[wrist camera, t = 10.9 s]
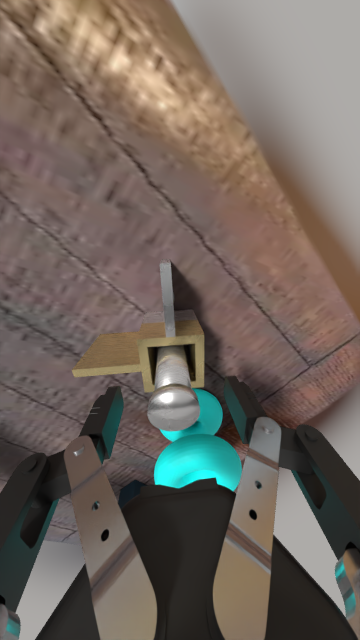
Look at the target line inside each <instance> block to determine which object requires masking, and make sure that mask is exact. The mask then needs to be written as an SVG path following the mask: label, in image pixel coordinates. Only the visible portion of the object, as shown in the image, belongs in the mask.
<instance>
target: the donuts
mask: <svg viewBox="0 0 360 640" xmlns="http://www.w3.org/2000/svg"><path fill="white" fill-rule="evenodd" d="M192 390H194V392H195V393H196V395H197V397H198V401H199V406H200V415H199V417H198V419H197V421H196V422H195V423H194V424H193V425H191V426H190V427H188V428H186V429H183V430H180V431H164V430H161V429H160V431H161V432H162V434H163V435H164V436H165V437H166V438H167V439H169V440H171V441H172V443H171V444H170V445H168V446H167V447H166V448H165V449H164V450H163V452H162V453H161V454H160V456H159V458H158V460H157V462H156V465H155V469H154V480H155V485H159V484H160V485H165V486H169V487H174V488H181V487H183V486H185V485H188V484H190V483H192V482H194V481H196V480H199V479H207V478H215V477H216V480H217V484H219V485H222V486H225V487H227V488H229V489H230V490H232V491H234V490H235V489H236V487H237V486H238V484H239V481H240V478H241V474H242V466H241V461H240V458H239V456H238V454H237V452H236V450H235V449H234V448H233V447H232V446H231V445H230V444H229V443H228V442H226V441H225V440H223V439H222V438H219V437H217V436H214V434H215V433H216V432H217V431H218V429H219V428H220V425H221V423H222V418H223V412H222V407H221V405H220V403H219V401H218V400H217V399H216V397H215V396H213V395H212V394H211V393H209V392H207V391H205V390H202V389H196V388H192Z"/></svg>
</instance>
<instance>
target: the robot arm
mask: <svg viewBox="0 0 360 640" xmlns="http://www.w3.org/2000/svg"><path fill="white" fill-rule="evenodd" d="M224 397H225V401H226V403H227V406H228V408H229V411H230V413H231V415H232V418H233V420H234V423H235V425H236V428H237V430H238V433H239V435H240V438H241V440H242V443H243V444H249V449H248V451H247V455H246V458H245V462H244V466H243V470H242V474H241V478H240V482H239V486H238V491H237V494H236V493H235V492H233V491H232V490H230V489H229V488H227V487H225V486H222V485H219V484H217V480H216V477H215V478H207V479H199V480H196V481H194V482H192V483H190V484H188V485H185V486H183V487H181V488H174V487H169V486H165V485H160V484H159V485H151V486H143V487H141V488H140V494H139V495H137V496H135V497H134V498H132V499H131V500H130V501H129V502H127V503H126V504H125V505H124V506H123V508H122V509H121V510H120V507H119V505H118V502H117V500H116V497H115V495H114V492H113V490H112V487H111V485H110V483H109V480H108V478H107V475H106V473H105V470H104V468H103V466H102V464H103V460H104V459H110V456H111V453H112V449H113V445H114V441H115V438H116V434H117V430H118V427H119V423H120V419H121V415H122V412H123V398H122V393H121V389H120V386H113V387H108V389H107V391H106V394H105V395H101V396H100V397H99V398H98V399H97V400H96V401H95V403H94V405H93V407H92V409H91V411H90V414H89V416H88V418H87V420H86V422H85V424H84V426H83V428H82V430H81V433H80V435H79V437H78V438H76V439H74V440H73V441H72V442H71V443H70V444H69V445H68V446H67V448H66V449H65V450H63V451H61V452H59V453H56V454H54V455H51V456H49V457H47V456H46V455H45V454H44V453H36V454H33V455H31V456H29V457H28V458H26V459H25V460H24V461H23V462H22V463H21V464H20V465H19V466H18V467H17V468H16V470H15V471H14V473H13V474H12V476H11V477H10V479H9V480H8V482H7V484H6V485H5V487H4V488H3V490H2V491H1V493H0V640H18V639H19V634H20V619H19V617H18V615H17V614H16V613H15V612H16V609H17V607H18V604H19V602H20V599H21V596H22V594H23V591H24V589H25V586H26V583H27V581H28V578H29V576H30V573H31V571H32V568H33V565H34V563H35V560H36V558H37V555H38V553H39V550H40V547H41V545H42V542H43V540H44V537H45V534H46V532H47V529H48V527H49V524H50V521H51V519H52V516H53V514H54V511H55V508H56V506H57V503H58V501H59V498H61V497H63V496H65V495H67V494H69V493H70V494H71V500H72V504H73V509H74V513H75V518H76V523H77V527H78V532H79V536H80V541H81V545H82V549H83V554H84V559H85V564H84V566H83V568H82V569H81V571H80V572H79V573H78V575H77V577H76V578H75V580H74V581H73V583H72V584H71V586H70V587H69V589H68V590H67V592H66V593H65V595H64V596H63V598H62V600H61V601H60V602H59V604H58V606H57V607H56V609H55V610H54V612H53V613H52V615H51V616H50V618H49V619H48V621H47V622H46V624H45V626H44V627H43V628H42V630H41V632H40V633H39V634H38V636H37V637H36V639H35V640H360V481H359V479H358V478H357V477H356V476H355V475H354V474H353V472H352V471H351V470H350V468H349V467H348V466H347V465H346V463H345V462H344V461H343V459H342V458H341V457H340V456H339V454H338V453H337V452H336V451H335V449H334V448H333V447H332V446H331V444H330V443H329V442H328V441H327V440H326V438H325V437H324V436H323V434H322V433H321V432H319V431H318V430H317V429H315V428H313V427H311V426H309V425H303V424H302V425H299V426H298V427H297V429H296V430H294V429H290V428H285V427H281V426H279V425H278V424H277V423H276V422H275V421H274V420H272V419H270V418H268V417H267V415H266V413H265V412H264V410H263V409H262V407H261V405H260V404H259V402H258V401H257V399H256V397H255V396H254V394H253V392H252V391H251V389H250V388H249V386H247V385H246V384H245V383H244V382H240V383H239V381H238V379H237V377H236V376H227V377H225V383H224ZM279 467H282V468H286V469H290V470H291V471H292V473H293V475H294V477H295V479H296V481H297V483H298V485H299V487H300V489H301V490H302V492H303V494H304V496H305V498H306V500H307V502H308V504H309V506H310V508H311V509H312V512H313V513H314V515H315V517H316V519H317V521H318V523H319V525H320V527H321V529H322V531H323V533H324V534H325V536H326V538H327V540H328V542H329V544H330V546H331V548H332V550H333V551H334V553H335V556H336V557H337V559H338V562H337V563H336V566H335V576H336V581H337V584H338V587H339V589H340V591H341V594H342V597H343V600H344V604H345V610H346V618H345V616H344V615H343V613H342V612H341V611H340V609H339V608H338V607H337V605H336V604H335V603H334V601H333V600H332V599H331V598H330V597H329V596H328V595H327V593H325V591H324V590H323V589H322V588H321V587H320V586H319V585H318V583H316V581H315V580H314V579H313V578H312V577H311V576H310V575H309V574H308V572H307V571H306V570H305V569H304V568H303V567H302V566H301V565H300V563H299V562H298V561H297V560H296V559H295V558H294V557H293V556H292V555H291V553H290V552H289V551H288V550H287V549H286V548H285V547H284V546H283V545H282V544H281V542H280V541H279V540H278V539H277V538H276V537H275V536H274V535H273V532H274V521H275V510H276V498H277V487H278V476H279Z"/></svg>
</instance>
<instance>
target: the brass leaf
mask: <svg viewBox="0 0 360 640" xmlns="http://www.w3.org/2000/svg"><path fill="white" fill-rule="evenodd" d="M174 322H175V337H166V330H165V322H157V323H143V324H142V325H141V328H140V331H139V332H127V333H113V334H100V335H99V337H98V338H97V339H96V340H95V342H94V343H93V344H92V345H91V347H90V348H89V349H88V350H87V352H86V353H85V354H84V355H83V357H82V358H81V359H80V360H79V362H78V363H77V364H76V365H75V367H74V368H73V369H72V372H73V375H74V377H83V376H95V375H106V374H118V373H130V372H141V371H142V377H143V383H144V389H145V392H154V389H155V377H156V366H157V363H155V362H154V354H153V347H155V346H168V345H181V344H191V360H186V361H187V366H188V372H189V377H190V382H191V388H198V387H204V333H203V330H202V328H201V326H200V324H199V322H198V320H185V321H174Z"/></svg>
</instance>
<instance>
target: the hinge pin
mask: <svg viewBox="0 0 360 640" xmlns="http://www.w3.org/2000/svg"><path fill="white" fill-rule="evenodd" d="M199 415H200V406H199V401H198V397H197V395H196V393H195V392H194V390H192V388H191V382H190V377H189V372H188V366H187V361H186V355H185V350H184V344H181V345H168V346H158V355H157V366H156V377H155V389H154V392H153V393H152V395H151V397H150V399H149V406H148V418H149V421H150V422H151V423H152V424H153V425H154V426H155V427H157V428H159V429H161V430H164V431H180V430H183V429H186V428H188V427H190V426H191V425H193V424H194V423H195V422H196V421H197V419H198V417H199Z"/></svg>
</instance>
